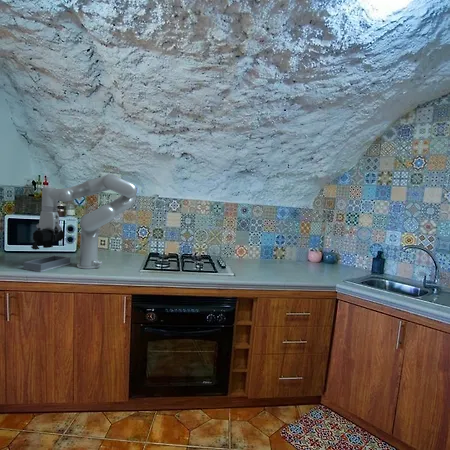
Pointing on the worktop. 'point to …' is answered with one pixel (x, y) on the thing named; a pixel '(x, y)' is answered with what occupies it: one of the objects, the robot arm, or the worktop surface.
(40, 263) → the holder tray
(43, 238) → the black irregular piece
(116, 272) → the worktop surface
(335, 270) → the worktop surface
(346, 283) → the worktop surface
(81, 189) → the robot arm
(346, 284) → the worktop surface
